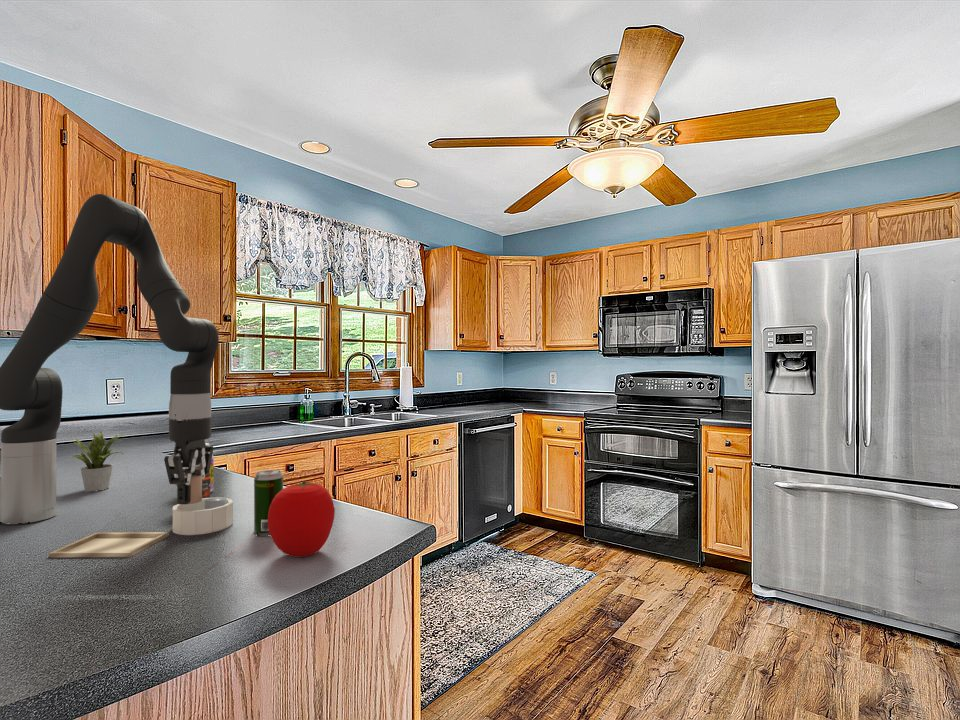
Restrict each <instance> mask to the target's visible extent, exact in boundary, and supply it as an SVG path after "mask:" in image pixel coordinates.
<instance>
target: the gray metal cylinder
mask: <svg viewBox="0 0 960 720" xmlns="http://www.w3.org/2000/svg"><path fill="white" fill-rule="evenodd" d="M227 498H228V497H226V496H225V497H223V496H215V497H210V498H209V499H206V500H205V509H212V508H216V507H220V506H223V505H225V504H227Z"/></svg>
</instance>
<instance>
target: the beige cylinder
mask: <svg viewBox="0 0 960 720" xmlns="http://www.w3.org/2000/svg"><path fill="white" fill-rule="evenodd" d="M189 485H191V501H190V503H189V504H194V503H198V502H201V501H202V475H191V481H190V484H189Z"/></svg>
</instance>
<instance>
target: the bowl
mask: <svg viewBox="0 0 960 720" xmlns="http://www.w3.org/2000/svg"><path fill="white" fill-rule="evenodd" d="M226 498H227V504H225V505H223V506H220V507H216V508H212V509H205V500H206V499H209V498H203V499H202V501H201V502H198V503H194V504H178V503H177V504H175V505H173V506H172V533H174V534H176V535H181V536H196V535H198V536H199V535H205V534H212V533H215V532H220V531H223V530H225V529H227V528H229V527H231V526H232V525H233V524H234V502H233V498H228V497H226Z"/></svg>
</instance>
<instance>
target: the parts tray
mask: <svg viewBox="0 0 960 720" xmlns="http://www.w3.org/2000/svg"><path fill="white" fill-rule="evenodd" d="M169 536H170V535H169V532H164V531H163V532H162V531H161V532H159V531H156V532H155V531H153V532H151V531H150V532H148V531H146V532H145V531H144V532H141V531H139V532H128V531H127V532H95V533H92V534H90V535H88V536H85V537H84V538H80V539H79V540H76V541H73V542H71V543H69V544H67V545H65V546H62V547H60V548H58V549H56V550H53V551H51V552H49V553H48V558H53V559H55V558H59V559H61V558H64V559H65V558H131V557H133V556H135V555H137V554H139V553H140V552H143V551H144V550H145V549H146V550H147V548H150V547H152V546H154V545H155V544H157V543H159V542H160V541H162V540H164V539H166V538H168V537H169Z"/></svg>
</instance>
